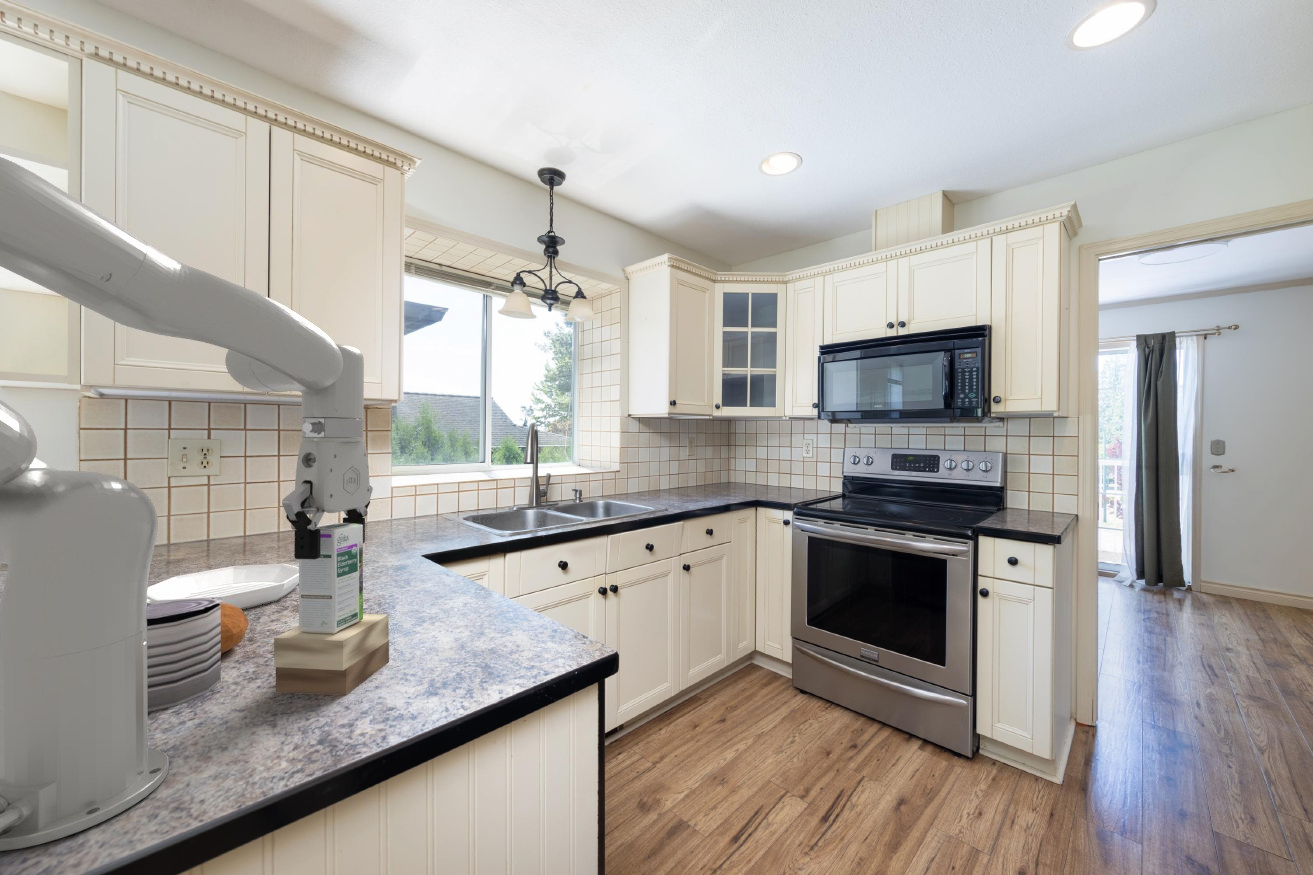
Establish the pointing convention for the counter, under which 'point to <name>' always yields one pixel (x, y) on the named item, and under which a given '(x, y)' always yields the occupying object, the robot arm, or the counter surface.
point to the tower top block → (331, 645)
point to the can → (182, 650)
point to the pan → (229, 585)
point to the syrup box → (333, 581)
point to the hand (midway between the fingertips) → (332, 550)
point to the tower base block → (331, 676)
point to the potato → (232, 626)
